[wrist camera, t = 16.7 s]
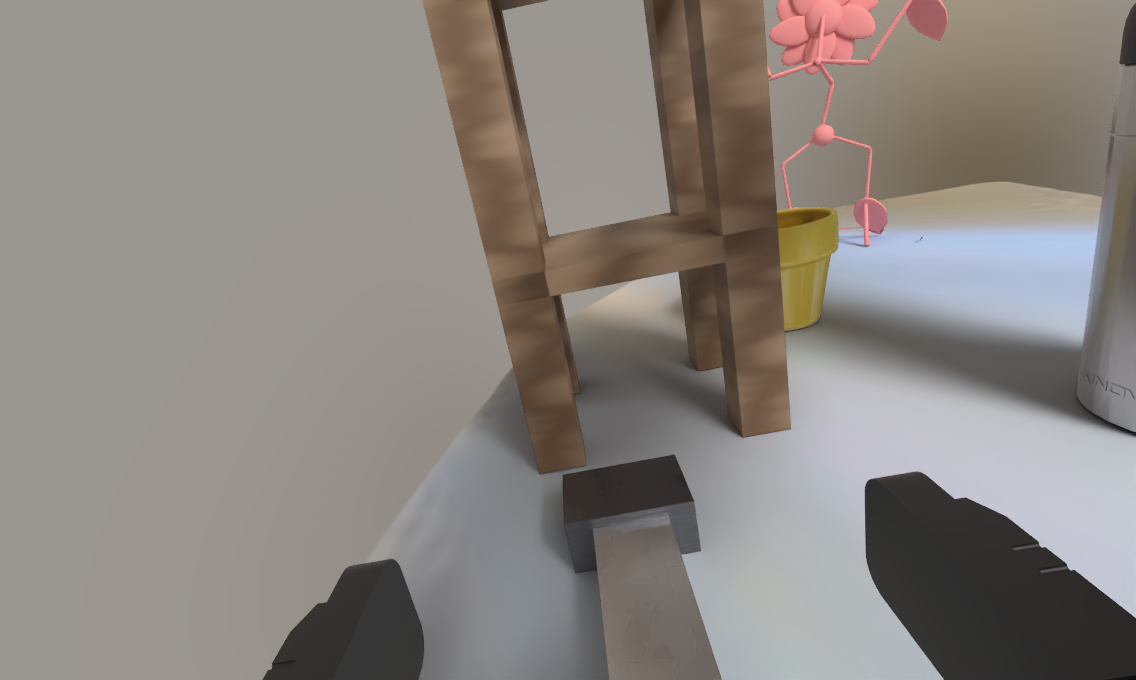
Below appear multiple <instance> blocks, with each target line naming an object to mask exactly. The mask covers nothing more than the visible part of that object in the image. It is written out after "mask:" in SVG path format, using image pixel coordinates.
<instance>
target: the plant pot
mask: <svg viewBox="0 0 1136 680" xmlns="http://www.w3.org/2000/svg"><path fill="white" fill-rule="evenodd" d="M777 222H778V237H779V252H780V268H781V283H782V299H783V314H784V329H785V331H792V330H797V329H801V328H805V327H808V326H810V325H812V324H814V323H816V322H817V321H818V320H819V318H820V315H821V309H822V303H823V297H824V291H825V285H826V280H827V273H828V267H829V262H830V256H831V254H833V253H834V252H835V251H836V250H837V249H838V216H837V212H836V211H835V210H834V209H831V208H823V207H809V208H795V209H787V210H779V211H777Z"/></svg>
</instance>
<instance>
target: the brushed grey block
mask: <svg viewBox="0 0 1136 680" xmlns="http://www.w3.org/2000/svg"><path fill="white" fill-rule="evenodd" d="M563 505H564V526H565V531H566V535H567V539H568V543H569V548H570V552H571V556H572V560H573V564H574V569H575V573H580V572H586V571H591V570H597V572H598V581H599V591H600V600H601V609H602V619H603V628H604V637H605V647H606V656H607V665H608V675H609V680H722V679H721V676H720V673H719V670H718V667H717V664H716V661H715V658H714V655H713V652H712V648H711V645H710V642H709V639H708V636H707V633H706V630H705V627H704V624H703V621H702V618H701V615H700V612H699V608H698V605H697V602H696V599H695V596H694V593H693V590H692V587H691V584H690V581H689V578H688V575H687V572H686V568H685V565H684V562H683V559H682V556H681V555H682V554H687V553H693V552H699V551H701V549H700V541H699V534H698V527H697V519H696V512H695V505H694V500H693V498H692V495H691V493H690V490H689V488H688V486H687V483H686V481H685V478H684V476H683V473H682V471H681V469H680V466H679V464H678V461H677V459H676V457H675V455H670V456H664V457H659V458H653V459H648V460H642V461H637V462H631V463H626V464H621V465H615V466H610V467H604V468H599V469H593V470H588V471H582V472H577V473H571V474H566V475H563Z"/></svg>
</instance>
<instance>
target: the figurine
mask: <svg viewBox="0 0 1136 680" xmlns="http://www.w3.org/2000/svg"><path fill="white" fill-rule="evenodd" d="M877 4H878V0H780V1H779V2H778V3H777V8H776V9H777V13H778V18H779V19H780V21H781V23H779V24H778V25H776V26H775V27H774V28H773V29H772V30H771V31H770V34H769V38H770V39H771V41H773V42H774V43H776V44H778V45H782V46H786V47H787V48H786V49H785V51H784V52H783V53H782V62H783V64H784V65H787V66H789V65H796V64H799V63H801V62H804V65H802V66H799V67H796V68H793V69H790V70H787V71H784V72H781V73H778V74H776V75H773V76H772V74H771V72H770V70H769V67H768V65H767V68H768V78H769V77H771V79H770V81H771V80H774V79H777V78H780V77H783V76H786V75H789V74H792V73H795V72H798V71H800V70H803V69H805V70H806V72H807V73H808V74H810V75H812V74H815V73H817V72H818V71H819V70H821V71H822V73H823V75H824V76H825V78H826V79H827V81H828V82H829V84H830V85H829V90H828V95H827V100H826V105H825V110H824V115H823V120H822V125H820V126H819V127H817V128H816V129H815V130H814V132H813V135H812V140H811V141H810V142H809V143H808V144H806V145H805V146H804V147H803V148H801V149H800V150H799V151H797V152H796V153H795V154H794V155H792V156H791V157H790V158H788V159H787V160H786V161H785V162H783V163H782V166H781V168H782V173H783V179H784V184H785V190H786V196H787V202H788V207H789V209H793V208H792V207H791V202H790V197H789V191H788V185H787V180H786V173H785V168H784V165H785V164H786V163H787V162H789V161H790V160H791V159H792V158H794V157H795V156H796V155H798V154H799V153H800V152H802V151H803V150H804V149H805V148H807V147H808V146H809V145H811V144H812V143H813V142H814V144H816V145H817V146H825V145H828V144H829V143H830V142H831V141H832V140H833V138H834V139H837V140H840V141H844V142H847V143H850V144H853V145H857V146H860V147H863V148H867V149H869V157H868V170H867V180H866V193H865V198H864V200H863V199H859V200H858V201H857V202H856V203H855V207H854V216H855V219H856V221H857V222H858V223H859V224H860V225H861V226H862V227H847V228H864V244H865V246H869V231H871V232H874V233H876V234H879V235H880V234H881V233H882V231H883V229H884V228H885V227H884V226H886V225H885V224H887V222H888V217H887V210H886V209H885V207H884V206H883V204H881V203H880V202H878V201H877V200H876V199H874V198H868V195H869V183H870V170H871V159H872V149H870V148H871V147H870V146H867V145H864V144H861V143H857V142H854V141H851V140H847V139H844V138H840V137H837V136H834V131H833V128H832V127H831V126H829V125H825V121H826V117H827V112H828V108H829V104H830V100H831V96H832V92H833V87H834V84H833V82H834V80H833V79H832V78H831V76H830V75H829V74H828V72H827V71H826V70H825V68H824V65H825V64H838V65H844V64H849V65H850V64H851V65H870V63H869V60H870V61H873V59H874V58H875V56H876V55H877V53H878V52H879V50H880V49H881V47H882V46H883V44H884V43H885V41H886V40H887V38H888V37H889V35H890V34H891V32H892V31H893V29H894V28H895V26H896V25H897V23H898V22H899V20H900V19H901V17H902V16H903V14H904V13H905V11H906V15H907V17H908V20H909V22H910V24H911V25H912V26H913V27H914V28H915V29H916V30H917V31H918V32H920V33H922V34H924V35H926V36H928V37H930V38H933V39H936V40H938V41H940V39H941V37H942V36H943V34H944V31H945V28H946V25H947V22H948V17H947V10H946V8H945V6H944V5H943V3H942V1H941V0H907V2H906V3H905V5H904V6H903V8H902V9H901V11H900V12H899V14H898V15H897V17H896V18H895V20H894V21H893V23H892V24H891V26H890V27H889V29H888V30H887V32H886V33H885V35H884V36H883V38H882V39H881V41H880V42H879V44H878V45H877V47H876V48H875V50H874V51H873V53H872V54H871V56H870V57H869V59H868V60H850V59H851V56H852V53H853V50H854V40H855V39H864V38H867V37H870V36H871V35H872V34H873V33H874V32H875V23H874V20H873V17H872V16H871V15H870V14H869V11H870V10H871V9H873V8H874V7H875V6H876V5H877ZM830 58H831V59H830ZM795 208H797V207H795ZM795 208H794V209H795ZM838 229H846V228H838ZM872 230H873V231H872ZM879 230H880V232H879ZM922 238H923V236H922ZM922 238H921V239H922ZM921 239H920V240H921Z"/></svg>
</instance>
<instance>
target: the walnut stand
mask: <svg viewBox="0 0 1136 680" xmlns="http://www.w3.org/2000/svg"><path fill="white" fill-rule="evenodd" d="M422 1H423V5H424V9H425V13H426V17H427V21H428V25H429V29H430V33H431V37H432V41H433V45H434V49H435V53H436V57H437V61H438V65H439V69H440V74H441V78H442V82H443V86H444V90H445V93H446V97H447V102H448V106H449V110H450V114H451V118H452V122H453V126H454V130H455V134H456V138H457V142H458V146H459V150H460V154H461V158H462V162H463V166H464V170H465V174H466V178H467V182H468V187H469V190H470V195H471V198H472V203H473V207H474V211H475V215H476V218H477V223H478V227H479V231H480V235H481V238H482V243H483V247H484V251H485V255H486V259H487V263H488V267H489V271H490V275H491V279H492V283H493V287H494V291H495V295H496V299H497V303H498V307H499V311H500V315H501V320H502V323H503V327H504V332H505V336H506V339H507V344H508V348H509V352H510V356H511V360H512V364H513V368H514V372H515V376H516V380H517V384H518V388H519V392H520V396H521V400H522V404H523V408H524V412H525V416H526V420H527V424H528V429H529V433H530V437H531V441H532V445H533V449H534V453H535V457H536V461H537V465H538V469H539V473H540V474H543V473H548V472H554V471H559V470H565V469H571V468H576V467H582V466H586V460H585V449H584V440H583V435H582V431H581V426H580V421H579V417H578V412H577V407H576V402H575V398H574V394H578V393H579V384H578V377H577V372H576V367H575V362H574V357H573V352H572V348H571V343H570V338H569V333H568V328H567V323H566V318H565V314H564V309H563V304H562V299H561V294H565V293H570V292H575V291H580V290H586V289H590V288H596V287H601V286H606V285H611V284H616V283H621V282H626V281H632V280H637V279H642V278H647V277H652V276H657V275H662V274H667V273H672V272H677V271H678V272H679V279H680V287H681V295H682V303H683V310H684V318H685V326H686V334H687V341H688V349H689V357H690V359H691V361H692V362H693V364H694V365H695V367H696V368H697V370H698V371H701V370H707V369H712V368H717V367H723V371H724V381H725V390H726V399H727V409H728V416H729V417H730V419H731V420H732V422H733V423H734V425H735V426H736V428H737V429H738V431H739V432H740V434H741V435H742V437H748V436H753V435H759V434H764V433H770V432H776V431H781V430H787V429H791V422H790V406H789V391H788V376H787V360H786V345H785V329H784V314H783V299H782V283H781V268H780V252H779V237H778V222H777V206H776V191H775V176H774V160H773V145H772V129H771V114H770V98H769V83H768V68H767V53H766V37H765V21H764V7H763V0H643V1H644V9H645V16H646V24H647V32H648V39H649V47H650V55H651V62H652V70H653V78H654V86H655V93H656V101H657V109H658V117H659V125H660V132H661V140H662V148H663V156H664V163H665V171H666V178H667V187H668V194H669V202H670V209H671V212H670V213H665V214H660V215H655V216H650V217H646V218H640V219H635V220H630V221H625V222H621V223H616V224H611V225H606V226H601V227H596V228H591V229H586V230H581V231H576V232H571V233H566V234H561V235H556V236H551V237H549V236H548V232H547V226H546V222H545V217H544V212H543V207H542V202H541V197H540V192H539V188H538V183H537V178H536V173H535V168H534V164H533V158H532V154H531V149H530V144H529V140H528V134H527V129H526V125H525V120H524V115H523V110H522V105H521V100H520V96H519V91H518V86H517V81H516V76H515V71H514V66H513V62H512V57H511V52H510V47H509V42H508V37H507V32H506V28H505V23H504V19H503V13H502V10H506V9H511V8H516V7H520V6H524V5H529V4H534V3H538V2H543V1H547V0H422Z"/></svg>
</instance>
